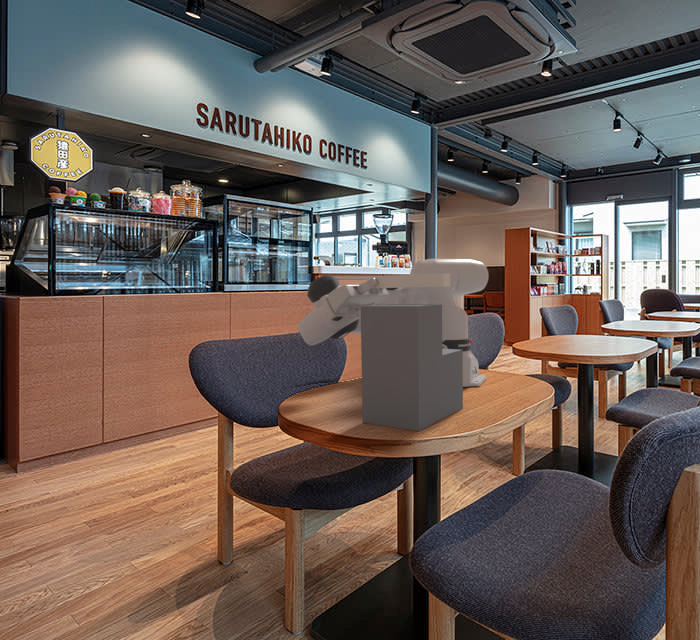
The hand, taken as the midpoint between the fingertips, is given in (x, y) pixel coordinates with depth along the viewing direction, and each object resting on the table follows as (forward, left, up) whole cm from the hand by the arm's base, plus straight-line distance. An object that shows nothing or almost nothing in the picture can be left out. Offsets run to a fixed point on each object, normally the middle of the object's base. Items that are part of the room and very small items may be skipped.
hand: (381, 280), depth 129 cm
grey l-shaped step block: (+6, +12, -32) cm, 35 cm away
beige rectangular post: (0, +7, -2) cm, 7 cm away
